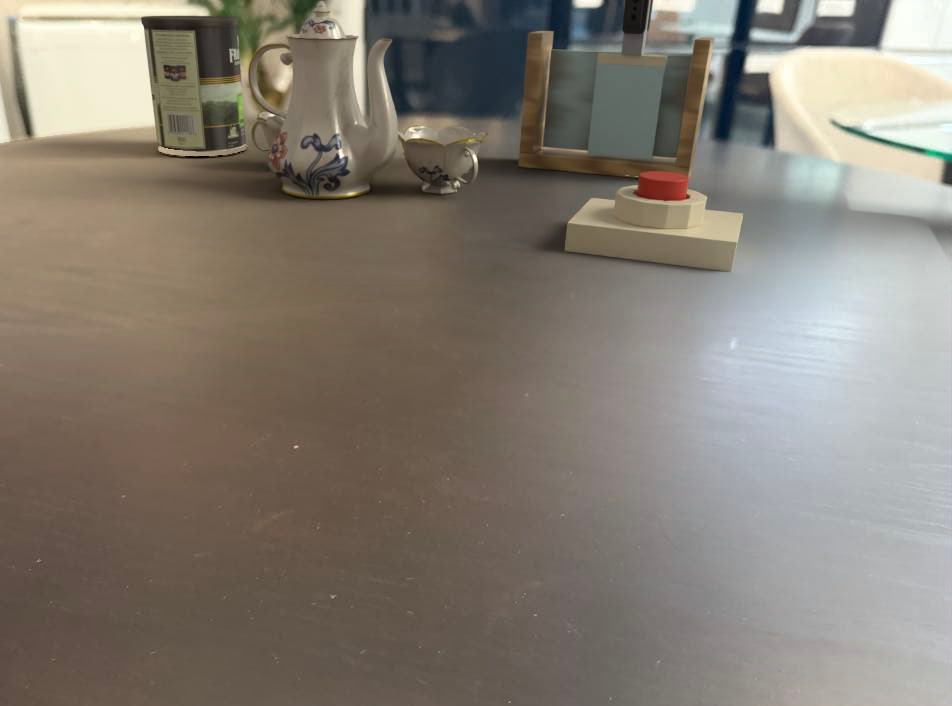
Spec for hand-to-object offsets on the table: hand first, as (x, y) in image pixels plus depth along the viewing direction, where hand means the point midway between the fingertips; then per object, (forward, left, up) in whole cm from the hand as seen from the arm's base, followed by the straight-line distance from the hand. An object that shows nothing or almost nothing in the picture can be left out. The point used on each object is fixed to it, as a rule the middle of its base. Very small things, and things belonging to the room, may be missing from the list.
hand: (635, 32), depth 83 cm
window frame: (+2, -1, -14) cm, 14 cm away
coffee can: (+47, +9, -14) cm, 50 cm away
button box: (-7, +27, -14) cm, 31 cm away
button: (-7, +27, -10) cm, 30 cm away
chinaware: (+24, +18, -14) cm, 33 cm away
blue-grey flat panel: (0, 0, -12) cm, 12 cm away
